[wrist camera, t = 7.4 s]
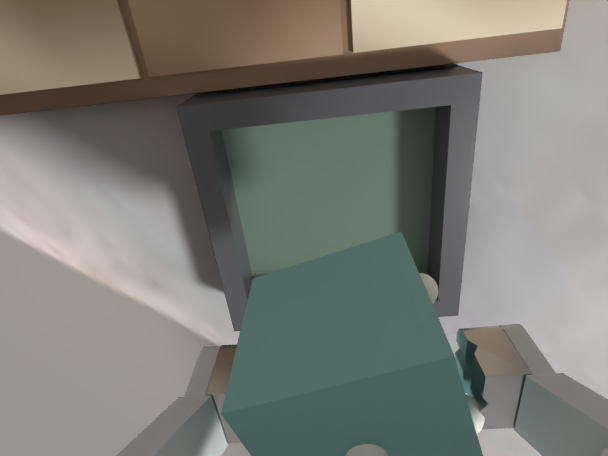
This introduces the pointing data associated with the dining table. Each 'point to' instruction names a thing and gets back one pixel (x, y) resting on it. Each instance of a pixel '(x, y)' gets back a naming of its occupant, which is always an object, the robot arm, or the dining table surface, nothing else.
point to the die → (349, 362)
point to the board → (245, 43)
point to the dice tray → (336, 173)
